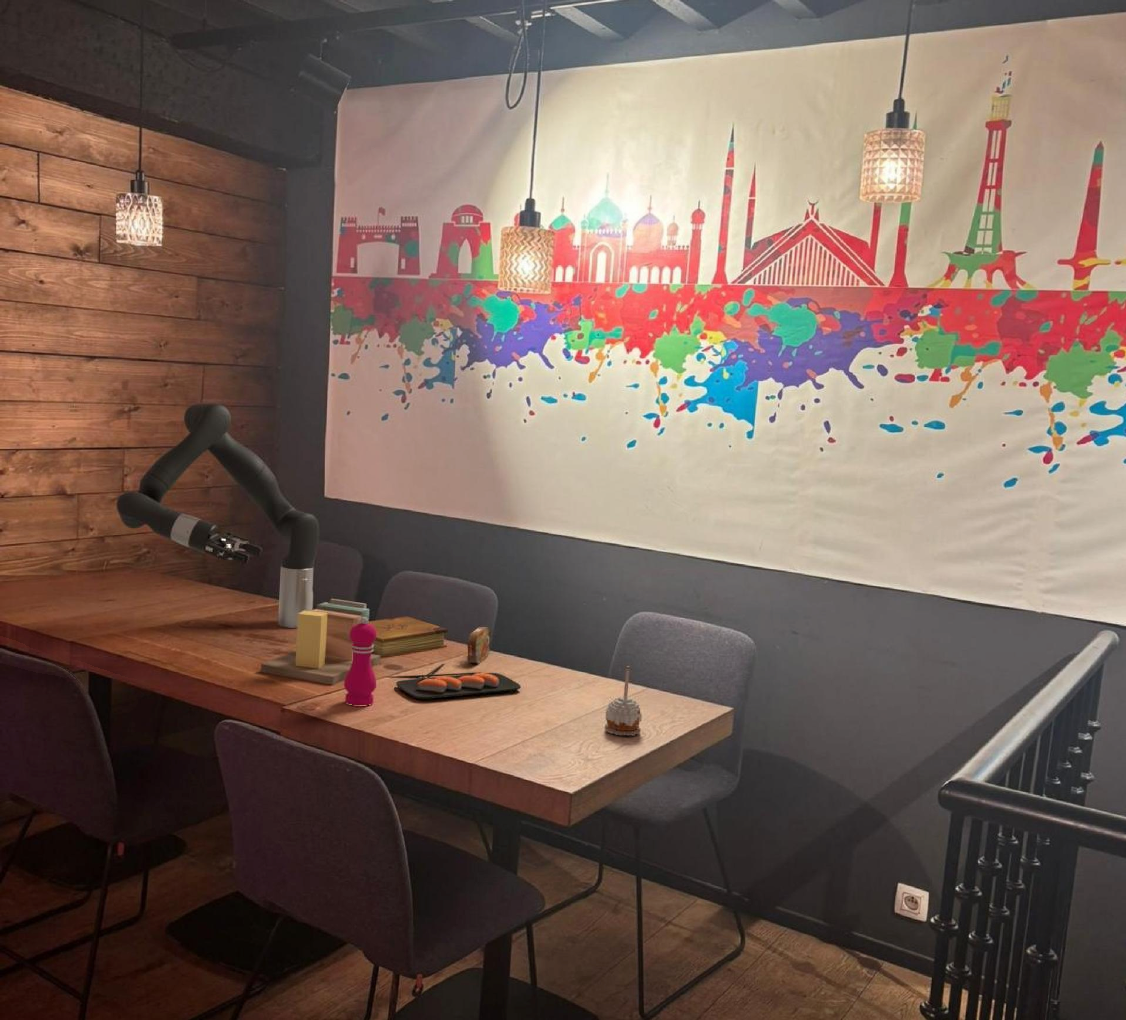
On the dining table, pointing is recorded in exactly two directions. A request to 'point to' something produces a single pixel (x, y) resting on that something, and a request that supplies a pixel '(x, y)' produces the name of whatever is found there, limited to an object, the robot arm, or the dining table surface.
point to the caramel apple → (623, 713)
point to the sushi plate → (455, 684)
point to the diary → (406, 636)
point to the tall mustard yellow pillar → (311, 639)
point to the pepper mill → (361, 665)
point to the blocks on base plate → (327, 646)
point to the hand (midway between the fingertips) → (254, 556)
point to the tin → (479, 645)
